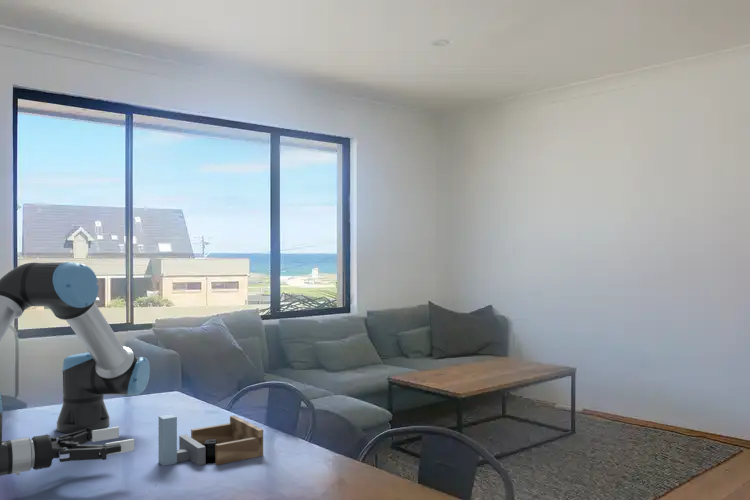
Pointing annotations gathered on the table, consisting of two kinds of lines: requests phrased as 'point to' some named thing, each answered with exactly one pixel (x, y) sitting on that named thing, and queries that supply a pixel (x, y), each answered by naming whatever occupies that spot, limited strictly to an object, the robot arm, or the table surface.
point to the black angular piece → (210, 450)
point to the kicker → (168, 444)
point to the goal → (232, 440)
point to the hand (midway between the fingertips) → (126, 438)
